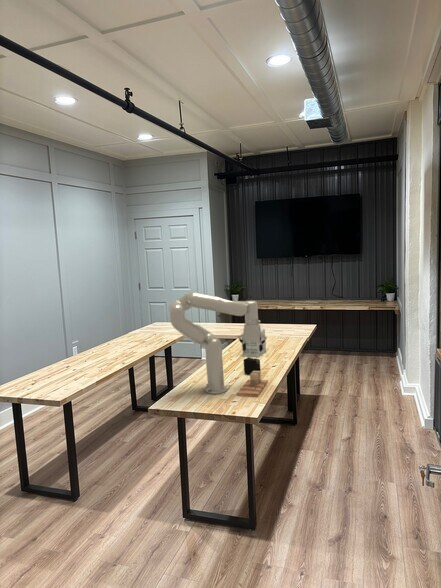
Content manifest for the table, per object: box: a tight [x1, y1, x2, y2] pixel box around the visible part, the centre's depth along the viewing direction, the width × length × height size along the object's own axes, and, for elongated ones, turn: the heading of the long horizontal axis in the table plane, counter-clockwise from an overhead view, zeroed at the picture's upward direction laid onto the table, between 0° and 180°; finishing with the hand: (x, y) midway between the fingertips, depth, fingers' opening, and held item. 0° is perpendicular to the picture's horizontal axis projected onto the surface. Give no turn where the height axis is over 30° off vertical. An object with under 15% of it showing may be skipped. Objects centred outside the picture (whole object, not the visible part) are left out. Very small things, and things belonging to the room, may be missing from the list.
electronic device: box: [243, 357, 262, 376], centre depth 271 cm, size 4×10×10 cm, turn 51°
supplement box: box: [240, 328, 267, 359], centre depth 318 cm, size 17×13×18 cm
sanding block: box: [249, 370, 262, 385], centre depth 250 cm, size 7×4×6 cm, turn 160°
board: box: [236, 378, 269, 398], centre depth 244 cm, size 24×12×2 cm, turn 161°
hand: (252, 350), depth 248 cm, fingers open, 9 cm apart
